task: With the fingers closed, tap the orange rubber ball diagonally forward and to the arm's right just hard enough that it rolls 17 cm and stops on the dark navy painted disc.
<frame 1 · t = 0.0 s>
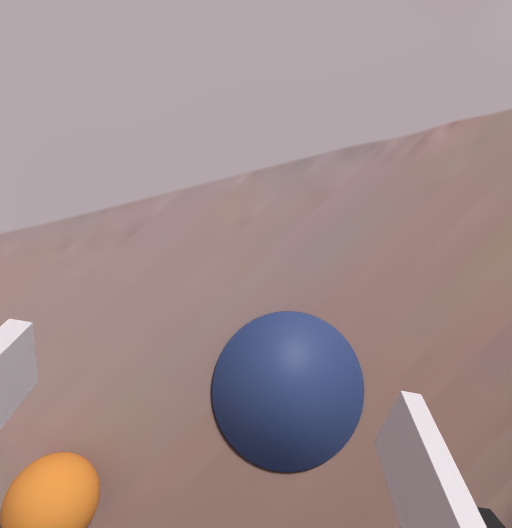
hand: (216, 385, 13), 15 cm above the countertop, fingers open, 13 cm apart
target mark: (288, 388, 28), on the countertop
ball: (53, 500, 23), on the countertop
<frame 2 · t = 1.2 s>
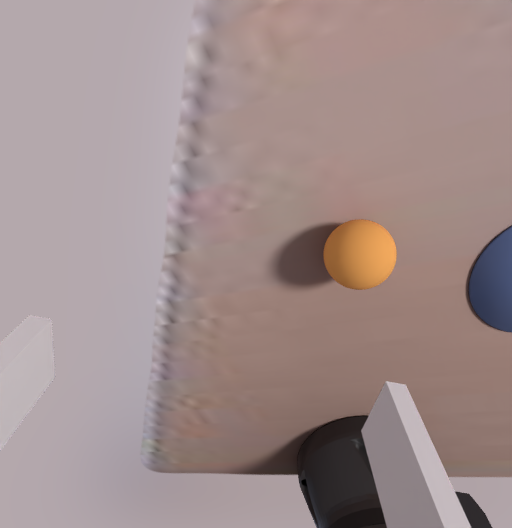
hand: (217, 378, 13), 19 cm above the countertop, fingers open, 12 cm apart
ball: (359, 254, 28), on the countertop
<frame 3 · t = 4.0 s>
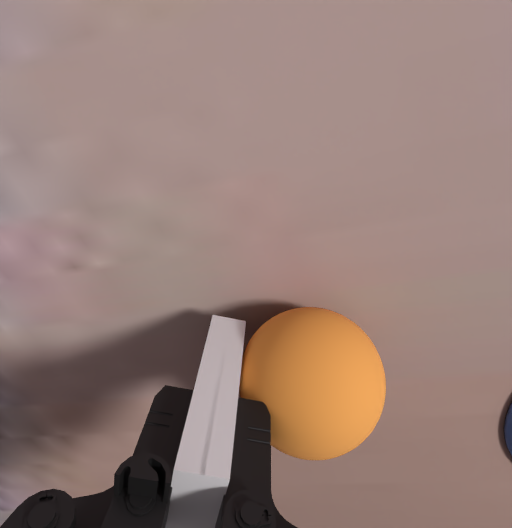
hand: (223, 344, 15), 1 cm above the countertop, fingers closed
ball: (309, 378, 14), on the countertop, touching gripper
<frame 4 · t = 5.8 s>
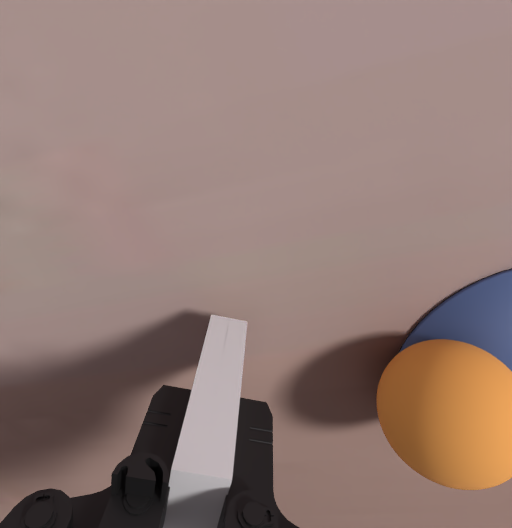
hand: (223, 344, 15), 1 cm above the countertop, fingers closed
ball: (448, 409, 14), on the countertop
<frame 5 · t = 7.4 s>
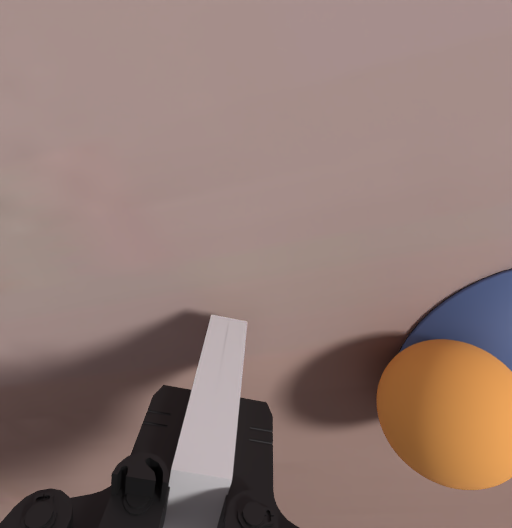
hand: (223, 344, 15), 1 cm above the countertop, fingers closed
ball: (448, 409, 14), on the countertop
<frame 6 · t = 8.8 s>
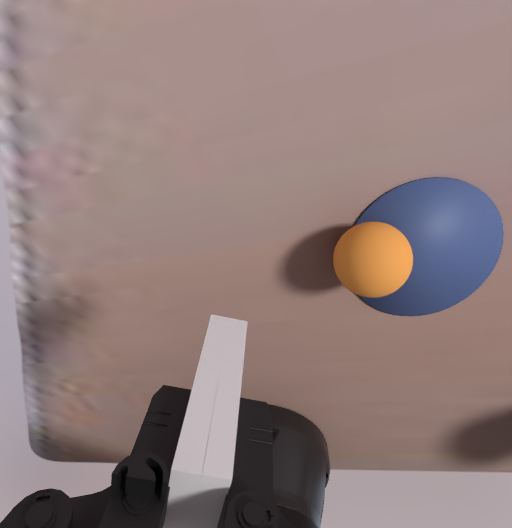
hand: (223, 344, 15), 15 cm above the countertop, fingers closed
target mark: (421, 252, 28), on the countertop
ball: (371, 259, 26), on the countertop
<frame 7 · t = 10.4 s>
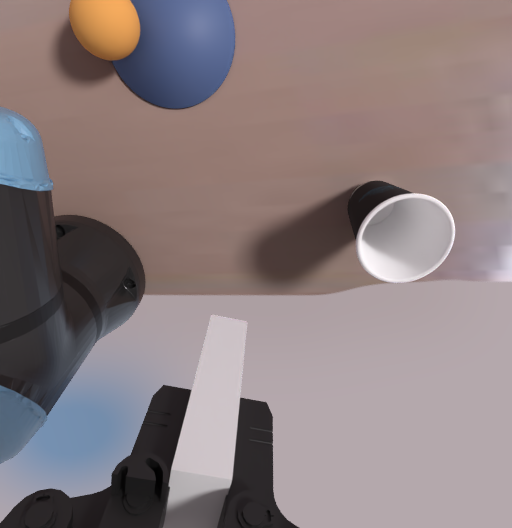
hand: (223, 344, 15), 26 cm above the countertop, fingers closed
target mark: (169, 37, 33), on the countertop
ball: (105, 23, 30), on the countertop
dixie cup: (370, 202, 39), on the countertop
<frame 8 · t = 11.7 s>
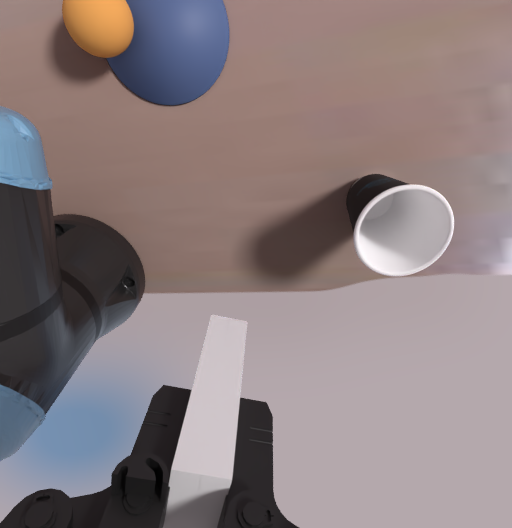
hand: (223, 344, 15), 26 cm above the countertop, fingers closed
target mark: (164, 33, 33), on the countertop
ball: (99, 20, 30), on the countertop
dixie cup: (369, 196, 39), on the countertop
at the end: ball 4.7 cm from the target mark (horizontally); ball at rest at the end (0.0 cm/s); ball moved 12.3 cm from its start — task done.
